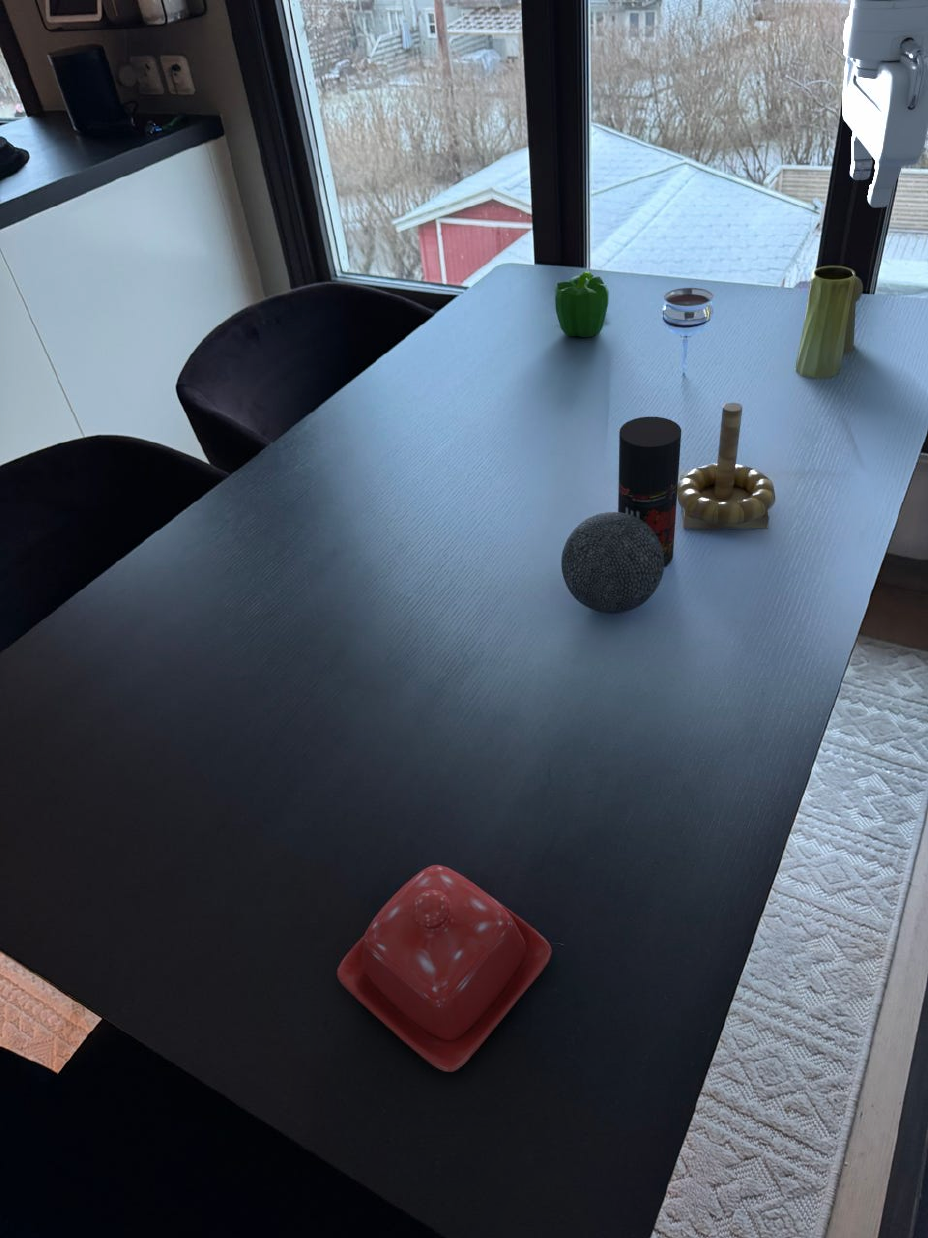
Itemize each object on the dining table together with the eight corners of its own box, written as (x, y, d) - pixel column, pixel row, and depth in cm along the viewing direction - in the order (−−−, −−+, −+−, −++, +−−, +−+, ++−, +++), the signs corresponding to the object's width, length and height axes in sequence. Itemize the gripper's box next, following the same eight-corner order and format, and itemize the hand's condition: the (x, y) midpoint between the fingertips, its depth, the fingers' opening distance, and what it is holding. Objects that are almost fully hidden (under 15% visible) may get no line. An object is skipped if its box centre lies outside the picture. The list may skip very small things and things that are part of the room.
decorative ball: (651, 641, 85) (655, 558, 79) (551, 625, 88) (547, 544, 82) (670, 579, 92) (675, 498, 86) (576, 566, 95) (574, 487, 89)
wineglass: (717, 380, 124) (725, 295, 117) (682, 396, 122) (688, 310, 114) (683, 365, 129) (688, 283, 121) (648, 380, 126) (651, 297, 119)
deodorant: (611, 567, 95) (612, 443, 85) (624, 535, 99) (627, 413, 89) (667, 575, 93) (674, 449, 83) (678, 542, 97) (686, 419, 87)
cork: (806, 361, 126) (818, 284, 119) (810, 344, 130) (822, 268, 123) (851, 364, 124) (866, 286, 117) (854, 346, 128) (869, 269, 121)
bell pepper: (551, 325, 144) (549, 263, 138) (601, 318, 145) (601, 256, 138) (561, 346, 138) (559, 282, 132) (613, 339, 138) (614, 274, 132)
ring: (768, 477, 102) (771, 459, 100) (777, 529, 94) (780, 510, 93) (676, 477, 104) (677, 459, 102) (677, 528, 96) (678, 509, 95)
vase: (807, 363, 126) (823, 261, 116) (848, 373, 122) (868, 269, 113) (784, 379, 123) (799, 275, 113) (825, 390, 119) (844, 284, 110)
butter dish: (451, 1091, 56) (435, 1030, 50) (331, 981, 62) (305, 915, 57) (561, 957, 62) (557, 889, 56) (441, 869, 68) (427, 800, 63)
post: (758, 484, 104) (772, 385, 96) (767, 528, 97) (782, 426, 89) (680, 485, 105) (686, 388, 97) (683, 529, 98) (690, 428, 90)
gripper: (966, 46, 73) (926, 221, 82) (908, 11, 88) (880, 162, 97) (885, 53, 74) (854, 225, 83) (842, 18, 90) (820, 166, 98)
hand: (868, 191), depth 90 cm, fingers open, 8 cm apart
